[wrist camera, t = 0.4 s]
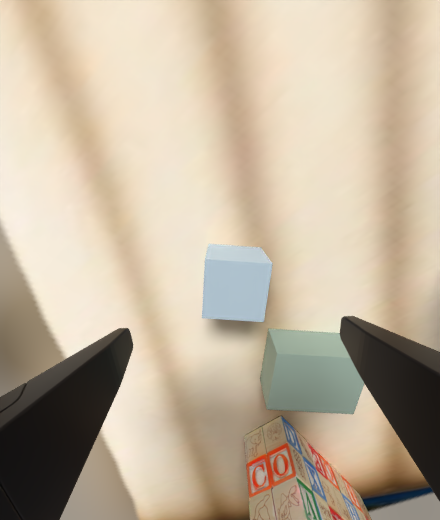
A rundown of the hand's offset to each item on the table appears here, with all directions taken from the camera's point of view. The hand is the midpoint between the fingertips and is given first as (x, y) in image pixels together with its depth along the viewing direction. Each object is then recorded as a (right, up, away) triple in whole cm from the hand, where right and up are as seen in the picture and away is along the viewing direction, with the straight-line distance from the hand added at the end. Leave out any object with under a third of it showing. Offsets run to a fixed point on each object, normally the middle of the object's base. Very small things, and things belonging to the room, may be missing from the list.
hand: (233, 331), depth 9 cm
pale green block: (+9, -8, +15) cm, 20 cm away
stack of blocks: (+11, -26, +21) cm, 36 cm away
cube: (+1, +2, +12) cm, 12 cm away
